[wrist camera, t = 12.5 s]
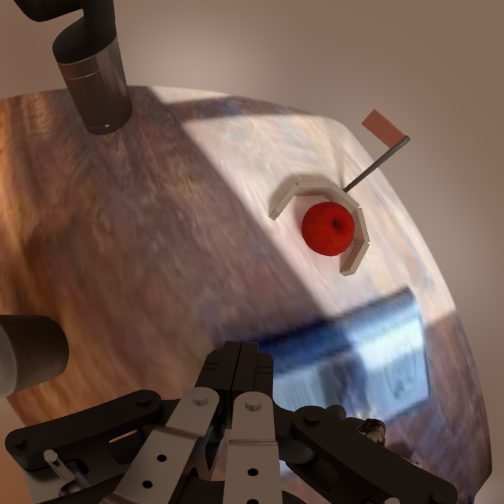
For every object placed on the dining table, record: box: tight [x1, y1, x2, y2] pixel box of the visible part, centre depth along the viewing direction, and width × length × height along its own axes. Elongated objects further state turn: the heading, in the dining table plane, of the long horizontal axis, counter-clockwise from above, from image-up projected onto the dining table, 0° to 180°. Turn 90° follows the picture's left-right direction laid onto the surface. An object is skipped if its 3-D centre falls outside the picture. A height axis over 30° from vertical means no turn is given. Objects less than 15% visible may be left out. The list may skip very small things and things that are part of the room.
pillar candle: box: [0, 315, 69, 397], centre depth 22 cm, size 10×10×15 cm
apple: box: [301, 202, 355, 256], centre depth 38 cm, size 8×8×7 cm
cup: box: [269, 109, 410, 276], centre depth 34 cm, size 13×15×18 cm
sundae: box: [326, 405, 386, 448], centre depth 29 cm, size 7×7×15 cm
